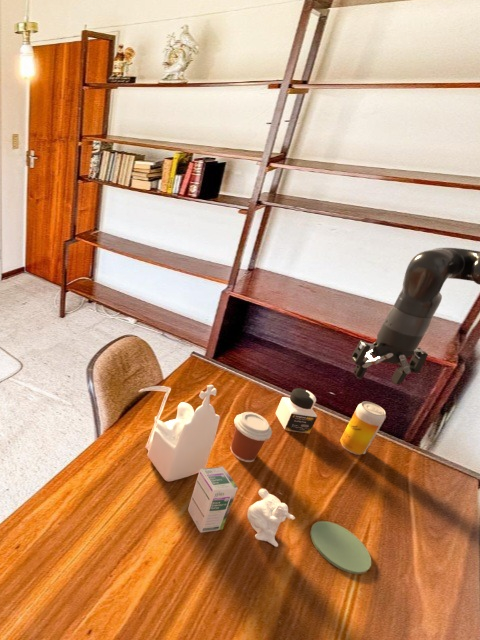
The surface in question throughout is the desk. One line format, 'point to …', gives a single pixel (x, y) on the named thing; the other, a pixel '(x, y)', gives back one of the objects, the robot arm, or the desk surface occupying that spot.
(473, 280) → the robot arm
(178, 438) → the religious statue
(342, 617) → the desk surface
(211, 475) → the syrup box
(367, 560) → the coaster
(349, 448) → the beer can
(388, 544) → the desk surface
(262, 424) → the coffee cup
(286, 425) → the medicine bottle
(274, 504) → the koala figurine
